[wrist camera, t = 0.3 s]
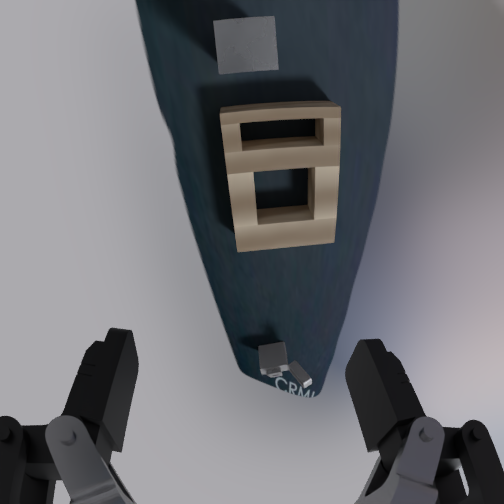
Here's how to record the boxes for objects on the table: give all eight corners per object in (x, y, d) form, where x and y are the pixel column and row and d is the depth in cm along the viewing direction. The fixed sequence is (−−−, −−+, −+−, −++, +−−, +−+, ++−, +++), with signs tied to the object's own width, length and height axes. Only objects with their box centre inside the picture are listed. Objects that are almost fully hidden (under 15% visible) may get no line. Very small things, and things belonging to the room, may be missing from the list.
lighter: (259, 351, 47) (264, 395, 41) (258, 345, 46) (261, 390, 40) (303, 343, 47) (312, 387, 41) (303, 337, 46) (312, 382, 40)
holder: (220, 107, 25) (219, 113, 23) (330, 100, 25) (340, 107, 23) (236, 235, 34) (237, 252, 31) (326, 226, 34) (334, 242, 31)
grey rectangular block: (219, 31, 21) (213, 21, 14) (260, 27, 21) (274, 16, 14) (223, 67, 23) (219, 74, 16) (263, 64, 23) (278, 69, 16)
